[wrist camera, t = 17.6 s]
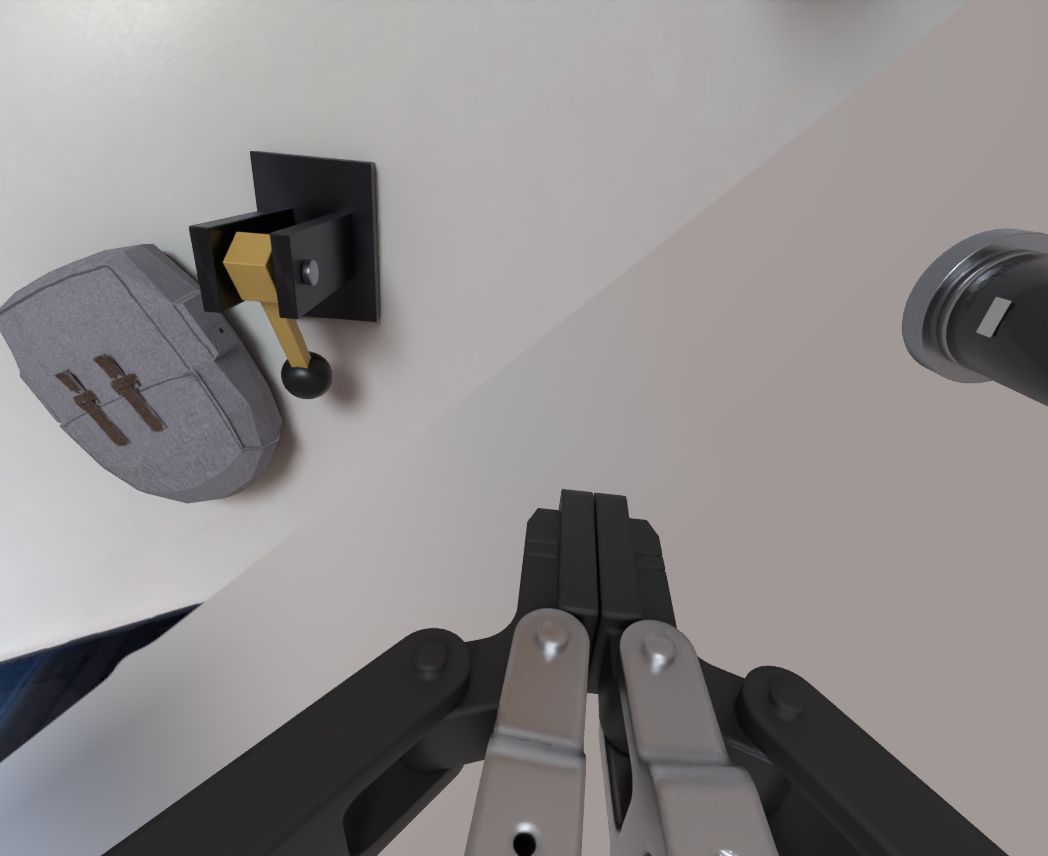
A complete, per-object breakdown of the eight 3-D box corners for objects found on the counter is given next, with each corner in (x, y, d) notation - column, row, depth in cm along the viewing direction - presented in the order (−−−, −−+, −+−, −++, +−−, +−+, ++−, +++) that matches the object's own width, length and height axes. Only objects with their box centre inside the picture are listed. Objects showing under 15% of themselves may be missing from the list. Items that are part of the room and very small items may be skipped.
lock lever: (341, 371, 41) (331, 409, 39) (295, 368, 41) (283, 406, 39) (291, 229, 30) (274, 273, 28) (227, 223, 29) (207, 268, 28)
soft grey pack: (20, 294, 41) (187, 497, 50) (-89, 325, 34) (129, 557, 42) (185, 215, 39) (331, 442, 47) (107, 230, 31) (296, 496, 40)
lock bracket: (380, 318, 42) (330, 378, 31) (276, 309, 42) (186, 367, 30) (375, 162, 37) (313, 165, 26) (257, 151, 37) (141, 149, 26)
